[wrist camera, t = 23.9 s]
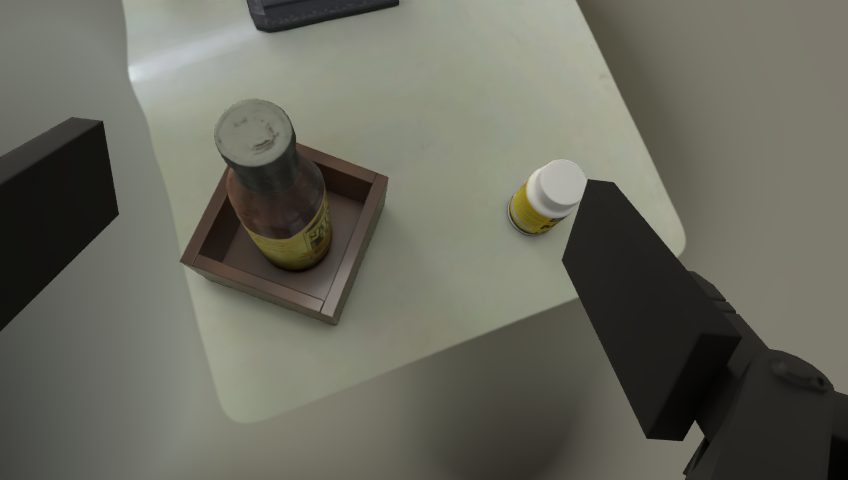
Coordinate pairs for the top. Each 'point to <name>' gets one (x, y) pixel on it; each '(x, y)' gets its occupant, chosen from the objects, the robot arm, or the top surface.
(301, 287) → the open wooden crate
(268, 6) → the wallet
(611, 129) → the top surface
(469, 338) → the top surface
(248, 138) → the sauce bottle
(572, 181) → the supplement bottle
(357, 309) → the top surface
